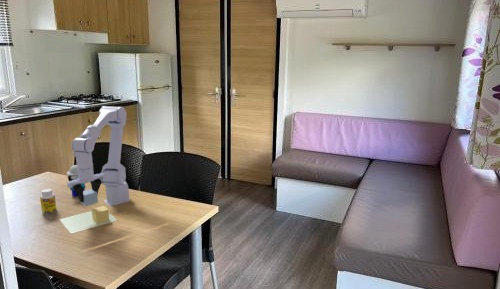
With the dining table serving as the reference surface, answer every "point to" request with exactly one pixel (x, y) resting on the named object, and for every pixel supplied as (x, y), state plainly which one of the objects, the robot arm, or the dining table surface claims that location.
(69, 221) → the baseplate
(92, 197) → the blue brick
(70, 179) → the toy
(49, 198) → the supplement bottle
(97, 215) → the mustard brick
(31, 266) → the dining table surface
